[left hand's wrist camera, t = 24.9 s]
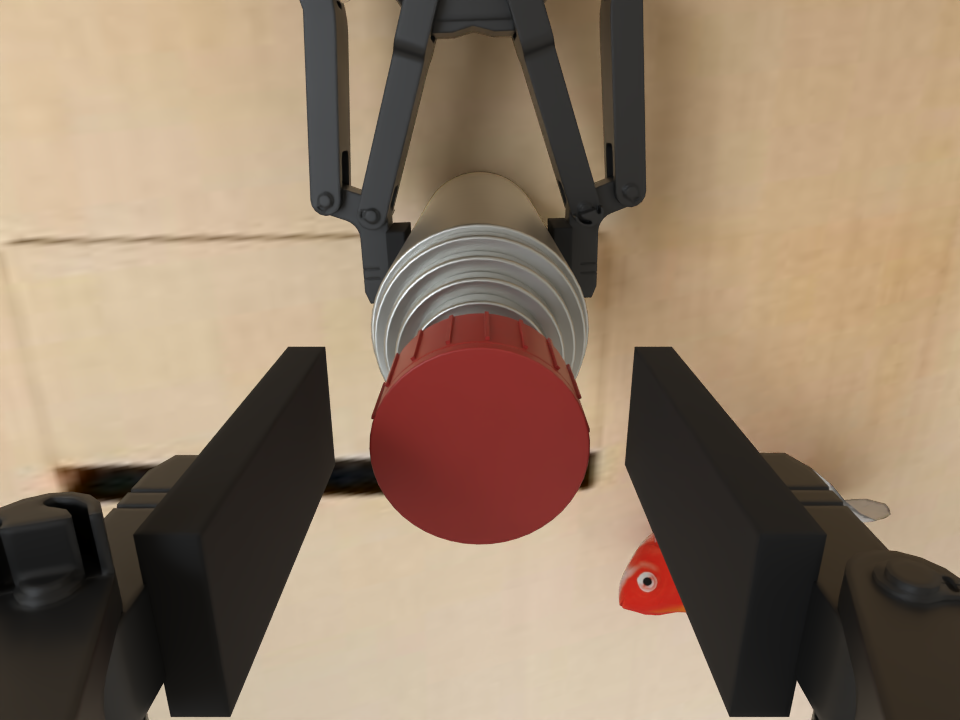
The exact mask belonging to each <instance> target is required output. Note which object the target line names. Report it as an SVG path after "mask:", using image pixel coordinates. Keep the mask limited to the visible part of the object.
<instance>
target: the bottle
mask: <svg viewBox="0 0 960 720" xmlns="http://www.w3.org/2000/svg"><path fill="white" fill-rule="evenodd" d="M485 311H488V312H489V314H496V315H500V316H505V317H509V318H512V319H515V320H517V321H519V319H521V320H523V323H524V324H526V325H528V326H530V327H532V328H533V329H535V330H536V331H538V332H539V333H541V334H542V335H543V336H544V337H545V338H546V339H547V338H550V339H551V340H552V343H553V346H554V347H555V348H556V349H557V351H558V352H559V353H560V355H561V356H562V358H563V360H564V361H565V363H566V365H567V364H569V365H570V367H571V370H572V372H573V375H574V378H575V379H576V377H577V375H578V373H579V370H580V367H581V365H582V361H583V358H584V356H585V352H586V347H587V343H588V331H589V324H588V312H587V307H586V302H585V299H584V296H583V293H582V290H581V288H580V286H579V284H578V282H577V280H576V278H575V276H574V274H573V272H572V271H571V269H570V267H569V266H568V264H567V262H566V261H565V259H564V257H563V255H562V254H561V252H560V250H559V249H558V247H557V245H556V244H555V242H554V240H553V238H552V237H551V235H550V233H549V232H548V230H547V228H546V227H545V225H544V223H543V221H542V220H541V218H540V216H539V215H538V213H537V211H536V210H535V208H534V206H533V204H532V203H531V201H530V199H529V198H528V197H527V195H526V194H525V193H524V192H523V190H522V189H521V188H520V187H518V186H517V185H516V184H515V183H513V182H512V181H510V180H509V179H507V178H505V177H503V176H500V175H497V174H494V173H488V172H472V173H467V174H463V175H460V176H457V177H455V178H453V179H451V180H450V181H448V182H446V183H445V184H444V185H443V186H441V187H440V188H439V189H438V190H437V191H436V192H435V194H434V195H433V196H432V198H431V199H430V201H429V203H428V204H427V206H426V208H425V209H424V211H423V213H422V214H421V216H420V218H419V220H418V221H417V223H416V225H415V226H414V228H413V230H412V231H411V233H410V235H409V236H408V238H407V240H406V242H405V243H404V245H403V247H402V248H401V250H400V252H399V253H398V255H397V257H396V259H395V260H394V262H393V264H392V265H391V267H390V269H389V270H388V272H387V274H386V276H385V277H384V279H383V281H382V283H381V285H380V287H379V290H378V292H377V295H376V297H375V302H374V306H373V310H372V319H371V338H372V344H373V349H374V353H375V356H376V359H377V363H378V365H379V369H380V372H381V374H382V376H383V378H384V380H385V382H386V380H387V377H388V374H389V371H390V369H391V366H392V363H393V360H394V357H395V355H396V353H398V354H400V353H401V351H402V350H403V348H404V347H405V346H406V345H407V344H408V343H409V342H410V341H411V340H412V339H413V338H414V337H415V336H417V333H418V331H419V330H420V329H421V330H422V331H423V330H425V329H426V328H428V327H430V326H431V325H433V324H435V323H438V322H440V321H442V320H444V319H448V318H449V316H450V315H453V316H459V315H465V314H476V313H485Z"/></svg>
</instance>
